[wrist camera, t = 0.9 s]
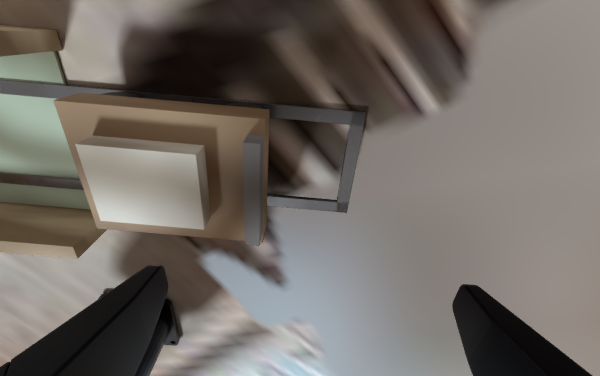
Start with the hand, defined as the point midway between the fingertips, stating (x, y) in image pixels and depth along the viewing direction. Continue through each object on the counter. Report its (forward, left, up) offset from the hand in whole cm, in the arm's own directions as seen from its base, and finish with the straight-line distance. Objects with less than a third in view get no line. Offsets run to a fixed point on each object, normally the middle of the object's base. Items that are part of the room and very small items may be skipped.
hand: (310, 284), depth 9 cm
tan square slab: (-1, +7, -11) cm, 14 cm away
